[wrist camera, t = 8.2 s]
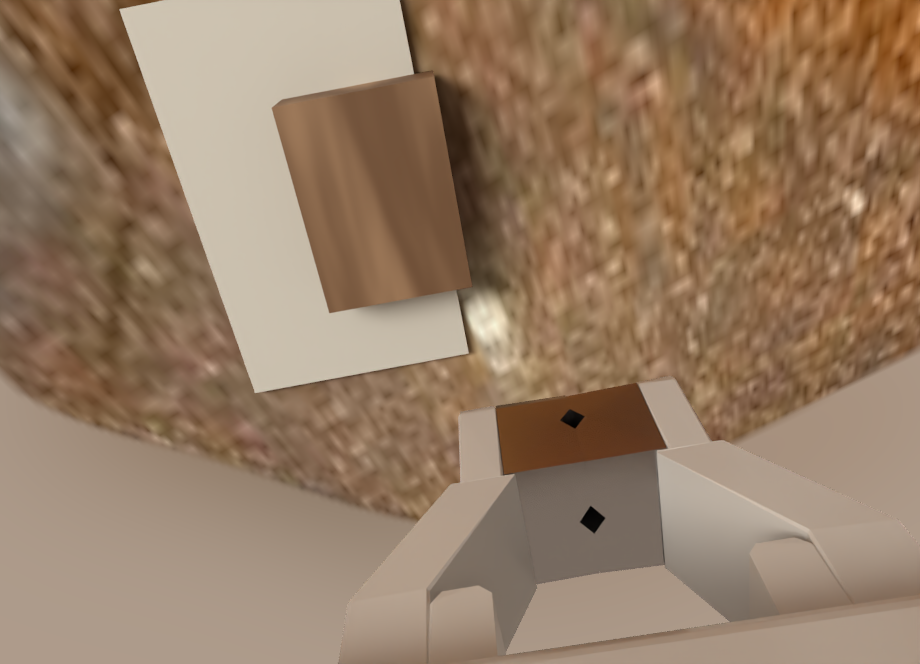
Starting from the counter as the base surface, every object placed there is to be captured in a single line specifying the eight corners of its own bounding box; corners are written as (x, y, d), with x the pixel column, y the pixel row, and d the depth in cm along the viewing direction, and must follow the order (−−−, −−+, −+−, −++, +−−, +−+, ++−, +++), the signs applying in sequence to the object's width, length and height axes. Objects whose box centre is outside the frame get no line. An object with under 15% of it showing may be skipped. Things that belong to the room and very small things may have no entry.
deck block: (434, 76, 28) (271, 108, 28) (472, 286, 32) (329, 313, 32) (432, 70, 30) (281, 99, 30) (468, 268, 34) (334, 293, 34)
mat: (391, -45, 28) (390, -46, 28) (468, 349, 36) (468, 353, 36) (122, 9, 29) (119, 9, 28) (256, 389, 37) (255, 393, 36)
